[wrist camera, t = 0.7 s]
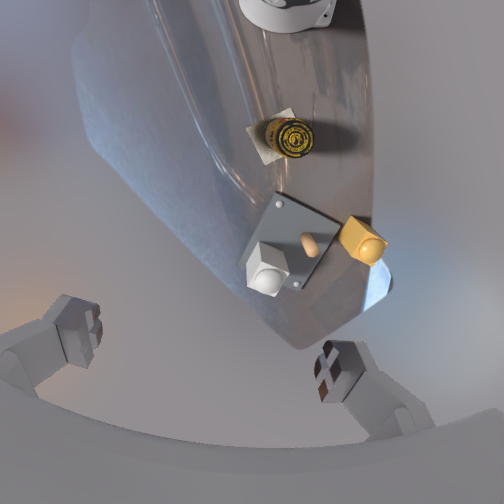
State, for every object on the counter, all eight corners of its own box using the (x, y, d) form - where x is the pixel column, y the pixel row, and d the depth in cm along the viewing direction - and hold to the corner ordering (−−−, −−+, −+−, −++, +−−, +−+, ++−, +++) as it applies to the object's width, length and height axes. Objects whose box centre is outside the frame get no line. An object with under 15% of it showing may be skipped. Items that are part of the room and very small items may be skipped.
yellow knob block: (351, 215, 52) (369, 233, 44) (370, 226, 53) (390, 245, 45) (337, 237, 54) (353, 258, 46) (357, 248, 55) (374, 269, 47)
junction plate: (274, 191, 50) (282, 208, 41) (338, 223, 53) (357, 245, 44) (236, 263, 56) (236, 293, 47) (297, 288, 59) (307, 319, 50)
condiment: (308, 144, 46) (328, 152, 36) (264, 165, 48) (272, 178, 37) (290, 107, 43) (305, 103, 33) (245, 128, 45) (247, 130, 34)
